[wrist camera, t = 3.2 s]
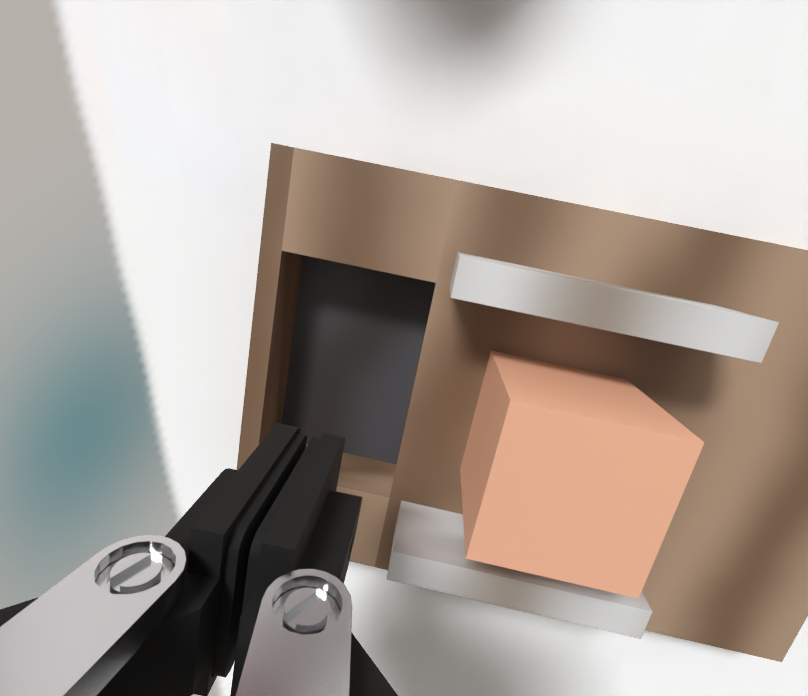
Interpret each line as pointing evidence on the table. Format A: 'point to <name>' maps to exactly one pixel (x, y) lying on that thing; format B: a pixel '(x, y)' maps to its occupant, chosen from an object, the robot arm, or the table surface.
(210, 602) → the robot arm
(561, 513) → the block
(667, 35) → the table surface
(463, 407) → the board
